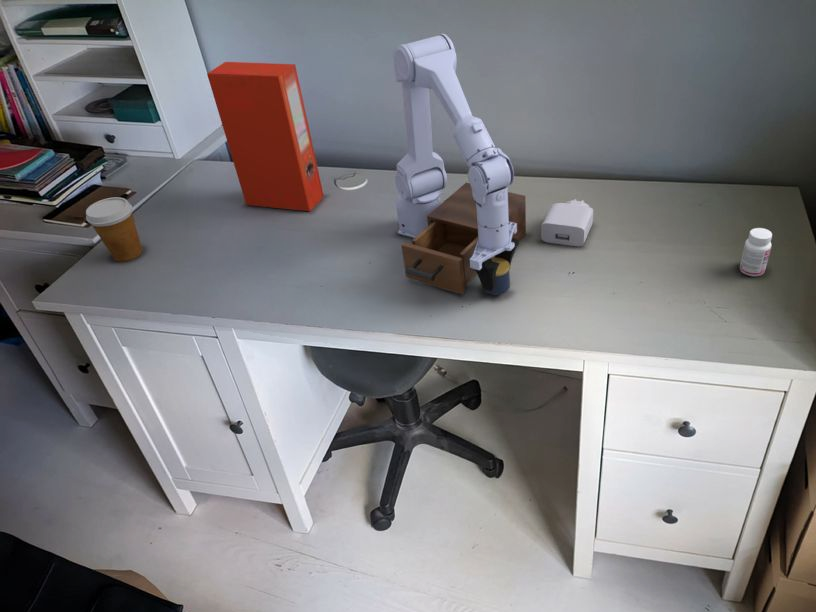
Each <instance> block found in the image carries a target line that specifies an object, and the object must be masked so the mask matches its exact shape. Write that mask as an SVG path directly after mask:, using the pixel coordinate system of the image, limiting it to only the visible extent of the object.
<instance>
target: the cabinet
mask: <svg viewBox="0 0 816 612" xmlns="http://www.w3.org/2000/svg"><path fill="white" fill-rule="evenodd" d="M526 206H527V203H526V195H524V194H520V193H515V192H510V191H508V218H509V222H513V223H516V224H517V232H516V233H515V234H513V236H512V238H516V239H518V240H519V243H520V242H521V241H522V240H523V239H524V238H525V237H526V236H527V225H526V224H527V213H526V212H527V207H526ZM427 221H428V226H429V225H430V224H431V223H432V222H433V221H436V222H440V223H444V224H448V225H452V226H456V227H460V228H463V229H467V230H471V231H475V232H478V223H477V208H476V201H475V200H474V197H473V194H472V188H471V185H470V183H469V182H465V183H463V184H462V185H461V186H460V187H459V188H458V189H456V191H454V192H453V193H452V194H451V195H449V196H448V197H447V198H446V199H445V200H444V201H443V202H441V204H440V205H439V206H438V207H437V208H436V209H434V210H433V211H432V212H431V213H430V214H429V215H427ZM491 258H495V256H493V257H491Z"/></svg>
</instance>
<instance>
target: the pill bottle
mask: <svg viewBox="0 0 816 612" xmlns="http://www.w3.org/2000/svg"><path fill="white" fill-rule="evenodd" d="M772 238H773V233H772V231H770V230H769V229H766V228H763V227H755V228H752V229H751V230H750V231H749V234H748V237H747V239H746V240H745V242H744V246H743V250H742V255H741V260H740V264H739V270H740V272H741V273H742V274H744V275H746V276H750V277H760V276H762V275H764V273H765V272H766V269H767V265H768V261H769V257H770V254H771V250H772V242H771V241H772Z"/></svg>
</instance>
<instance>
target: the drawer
mask: <svg viewBox="0 0 816 612" xmlns="http://www.w3.org/2000/svg"><path fill="white" fill-rule="evenodd" d="M477 241H478V232H475V231H471V230H467V229H463V228H460V227H456V226H452V225H448V224H444V223H440V222H436V221H433V222H432V223H431V224H430V225H429V226H428V227H427V228H425V229H424V230H423V231H422V232H421V233H420V234H419V235H417V236H416V237H415V238H413V239H412V240H411V243H409V242H406V241H404V242H403V243H402V244H401V251H402V258H403V264H404V272H405V277H406V279H410V280H413V281H416V282H420V283H422V284H426V285H428V286H433V287H435V288H440V289H443V290H446V291H449V292H453V293H456V294H459V295H464V294H465V292H466V286H467V285H468V284H469V283H470V282H471V281H472V280H473V279H474V278H475V277H476V276H477V273H476V271H475V270H474V269H473V268H470V262H469V259H470V258H471V257H472V256H473V253H474V250H475V247H476V244H477Z"/></svg>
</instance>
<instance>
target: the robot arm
mask: <svg viewBox="0 0 816 612" xmlns="http://www.w3.org/2000/svg"><path fill="white" fill-rule="evenodd" d="M392 52H393V55H392V56H393V57H392V58H393V66H394V76H395V82H396V83H401V85H402V86H401V87H402V99H403V109H404V121H405V132H406V143H407V144H406V145H407V152H406V154H405V155H404V156H403V157H402V158H401V159H400V160H399V161H398V162H397V164H396V174H395V186H396V189H397V192H398V194H399V195H398V197H397V200H396V213H397V219H398V220H397V221H398V227H399V230H398V231H397V233H398V235H401V236H405V237H408V238H413V239H414V238H415V237H416V236H417V235H419V234H420V233H421V232H422V231H423V230H424V229H425V228H427V227H428V221H427V215H429V214H430V213H431V212H432V211H433V210H434V209H436V208H437V207H438V206H439V205H440V204H441V203H442V202H441V201H442V200H441V196H442V195H443V194H444V193H443V190H444V189H446V188H447V183H448V175H447V172H446V169H445V163H444V160H443V159H442V157H441V155H439V154H438V153H437V152H435V151H433V134H432V120H431V104H430V103H431V101H430V90H433V92H434V94H435V96H436V97H437V99H438V101H439V102H440V105H442V107H443V108H444V110H445V112H446V114H447V115H448V118H449V119H450V120H451V122H452V123H453V125H454V129H453V132H452V137H453V139H454V141H455V143H456V145H457V147H458V149H459V151H460V152H461V155H462V157H463V159H464V161H465V163H466V166H467V167H468V172H467V180H468V183H470V185H471V188H472V194H473V197H474V200H475V201H476V208H477V223H478V241H477V244H476V247H475V250H474V253H473V256H472V257H471V258H470V259H469V262H470V268H473V269H474V270H475V271H476V273H477V274H476V276H478V278H479V281H480V284H481V286H482V290H483V289H486V290H489V291H493V290H494V286H495V276H496V271H497V268H498V266H499V264H500V263H497V262H493V261H492V259H490V258H491V257H493V256H495V258H502V259H505V260H506V261H508V263H509V265H510V266H511V265H512V262H513V258H514V255H515V252H516V250H517V248H518V246H519V245H520V242H519V240H518V239H516V238H512V236H513V234H515V233H516V232H517V224H516V223H513V222H509V218H508V192H509V189H508V186H511V185H512V184H513V183H514V181H515V170H514V167H513V164H512V162H511V159H510V158H509V156H508V155H507V154H506V153H505V152H503V151H502V149H501V148H500V147H496V145H495V143H494V141H493V140H492V137H491V135H490V134H489V131H488V129H487V128H486V127H487V126H486V125H485V124H484V122H483V119H481V118H480V117H476V116H473V112H472V111H471V108H470V105H469V103H468V101H467V98H466V95H465V93H464V91H463V88H462V85H461V83H460V81H459V78H458V76H457V73H456V72H457V66H458V57H457V52H456V49H455V45H454V43H453V41H452V40H451V38H450V37H449V36H448V35H447V34H445V33H440V34H437V35H436V36H435V35H434V36H432V37H427V38H424V39H420V40H416V41H411V42H409V43H405V44H403V43H402V44H398V45H397V46H396V47H395V48H394V49H393V50H392ZM510 269H511V267H510V268H509V271H510Z"/></svg>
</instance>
